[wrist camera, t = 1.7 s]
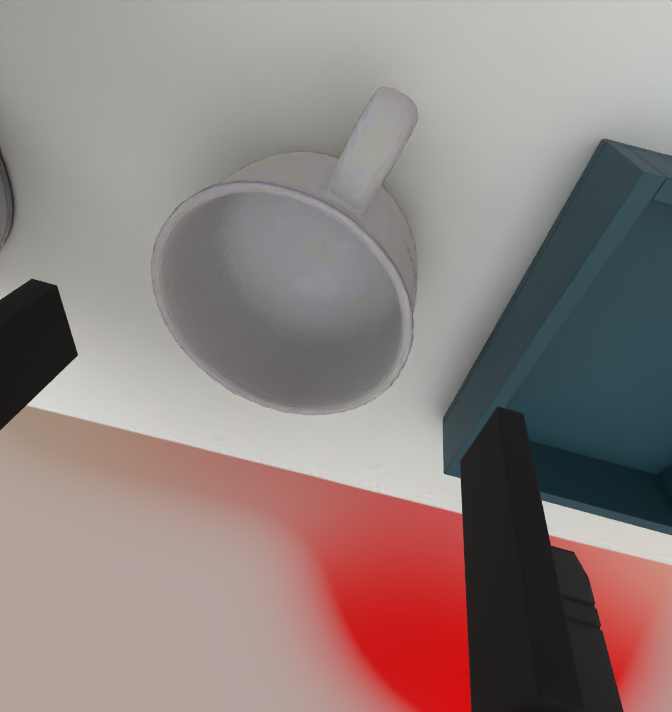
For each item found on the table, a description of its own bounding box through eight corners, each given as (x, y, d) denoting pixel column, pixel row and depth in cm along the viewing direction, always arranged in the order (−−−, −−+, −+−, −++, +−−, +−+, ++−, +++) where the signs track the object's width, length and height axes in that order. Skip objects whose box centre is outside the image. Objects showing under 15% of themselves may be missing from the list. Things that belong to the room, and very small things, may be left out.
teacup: (334, 350, 27) (305, 448, 21) (189, 242, 24) (107, 322, 18) (521, 188, 19) (560, 273, 13) (339, -9, 16) (280, -15, 10)
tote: (442, 419, 30) (443, 474, 26) (602, 137, 17) (643, 171, 14) (656, 476, 29) (685, 539, 26) (972, 234, 17) (1107, 292, 14)
